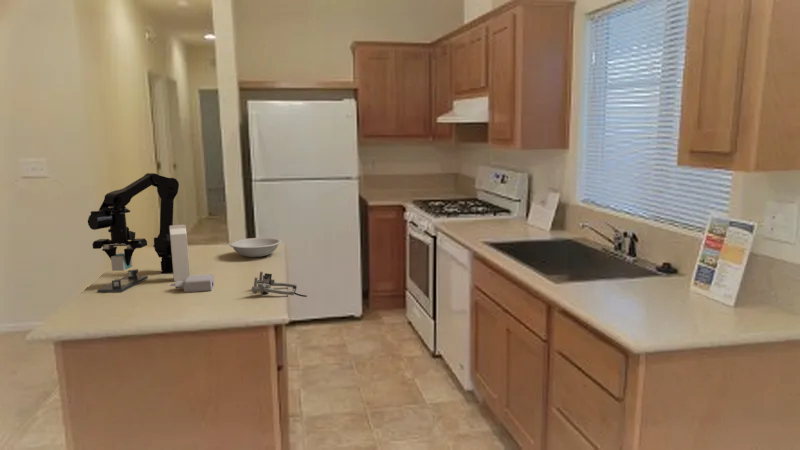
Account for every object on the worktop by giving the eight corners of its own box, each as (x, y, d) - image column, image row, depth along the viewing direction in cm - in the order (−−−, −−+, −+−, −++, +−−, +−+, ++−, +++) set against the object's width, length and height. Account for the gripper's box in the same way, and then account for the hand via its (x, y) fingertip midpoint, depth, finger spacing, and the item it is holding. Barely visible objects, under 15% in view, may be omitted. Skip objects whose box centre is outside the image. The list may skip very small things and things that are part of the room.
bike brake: (248, 296, 202) (306, 303, 203) (250, 277, 201) (308, 284, 202) (256, 286, 215) (310, 293, 216) (258, 269, 214) (312, 275, 215)
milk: (190, 280, 228) (186, 225, 225) (174, 282, 226) (169, 226, 222) (189, 276, 234) (185, 223, 230) (173, 278, 232) (169, 224, 228)
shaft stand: (147, 278, 233) (146, 268, 232) (121, 292, 213) (120, 281, 212) (126, 278, 233) (125, 268, 232) (97, 292, 213) (96, 281, 212)
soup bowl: (276, 261, 259) (275, 247, 258) (223, 262, 259) (222, 247, 258) (287, 250, 283) (286, 237, 282) (238, 251, 283) (237, 237, 282)
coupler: (123, 270, 219) (122, 256, 218) (112, 270, 219) (110, 256, 218) (132, 266, 225) (131, 252, 224) (121, 266, 225) (120, 253, 225)
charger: (173, 288, 218) (214, 285, 221) (168, 294, 209) (211, 291, 212) (172, 275, 217) (213, 273, 220) (167, 282, 208) (210, 279, 211)
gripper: (152, 221, 227) (155, 260, 229) (105, 222, 227) (109, 261, 230) (138, 226, 216) (142, 267, 218) (89, 227, 216) (94, 267, 219)
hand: (122, 265), depth 222 cm, fingers closed on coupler, 4 cm apart
